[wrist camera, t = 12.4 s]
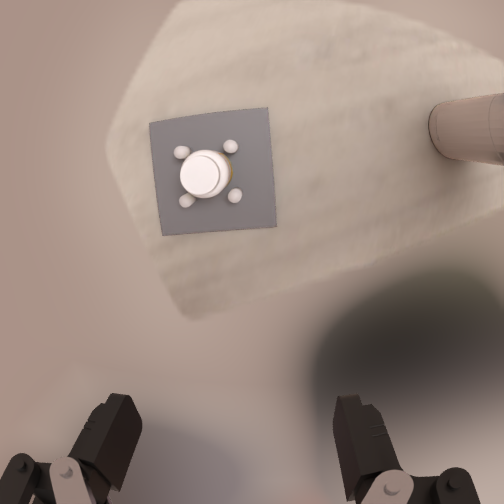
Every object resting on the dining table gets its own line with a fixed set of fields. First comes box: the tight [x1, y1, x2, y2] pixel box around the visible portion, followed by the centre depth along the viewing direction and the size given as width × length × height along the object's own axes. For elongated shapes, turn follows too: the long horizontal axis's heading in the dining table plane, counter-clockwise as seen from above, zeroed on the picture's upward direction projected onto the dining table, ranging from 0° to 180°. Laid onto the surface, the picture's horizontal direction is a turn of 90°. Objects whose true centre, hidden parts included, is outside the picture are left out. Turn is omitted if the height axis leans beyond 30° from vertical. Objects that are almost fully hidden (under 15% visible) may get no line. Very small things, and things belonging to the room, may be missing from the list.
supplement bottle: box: [180, 150, 233, 198], centre depth 33 cm, size 5×5×10 cm
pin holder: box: [149, 108, 277, 236], centre depth 36 cm, size 16×16×5 cm
